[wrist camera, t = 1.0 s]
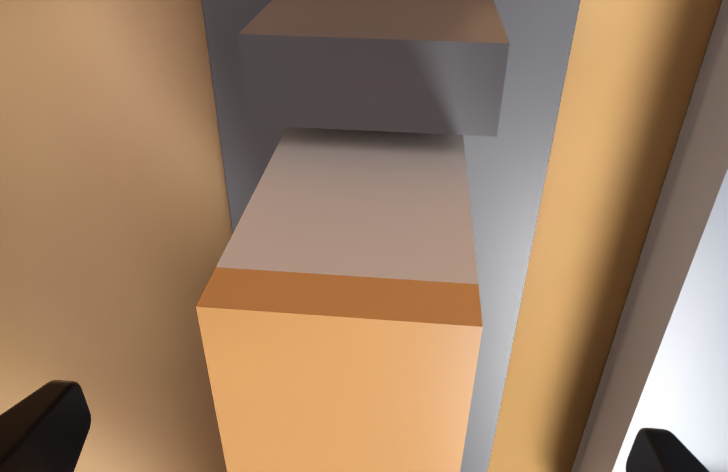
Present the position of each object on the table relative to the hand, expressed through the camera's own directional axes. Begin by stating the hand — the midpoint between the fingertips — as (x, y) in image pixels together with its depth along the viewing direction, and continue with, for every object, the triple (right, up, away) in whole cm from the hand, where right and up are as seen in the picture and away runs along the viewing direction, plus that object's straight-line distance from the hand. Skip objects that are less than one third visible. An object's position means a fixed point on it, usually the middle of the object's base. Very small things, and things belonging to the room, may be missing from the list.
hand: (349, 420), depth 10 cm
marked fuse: (+1, +4, +6) cm, 7 cm away
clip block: (+1, 0, +9) cm, 9 cm away
